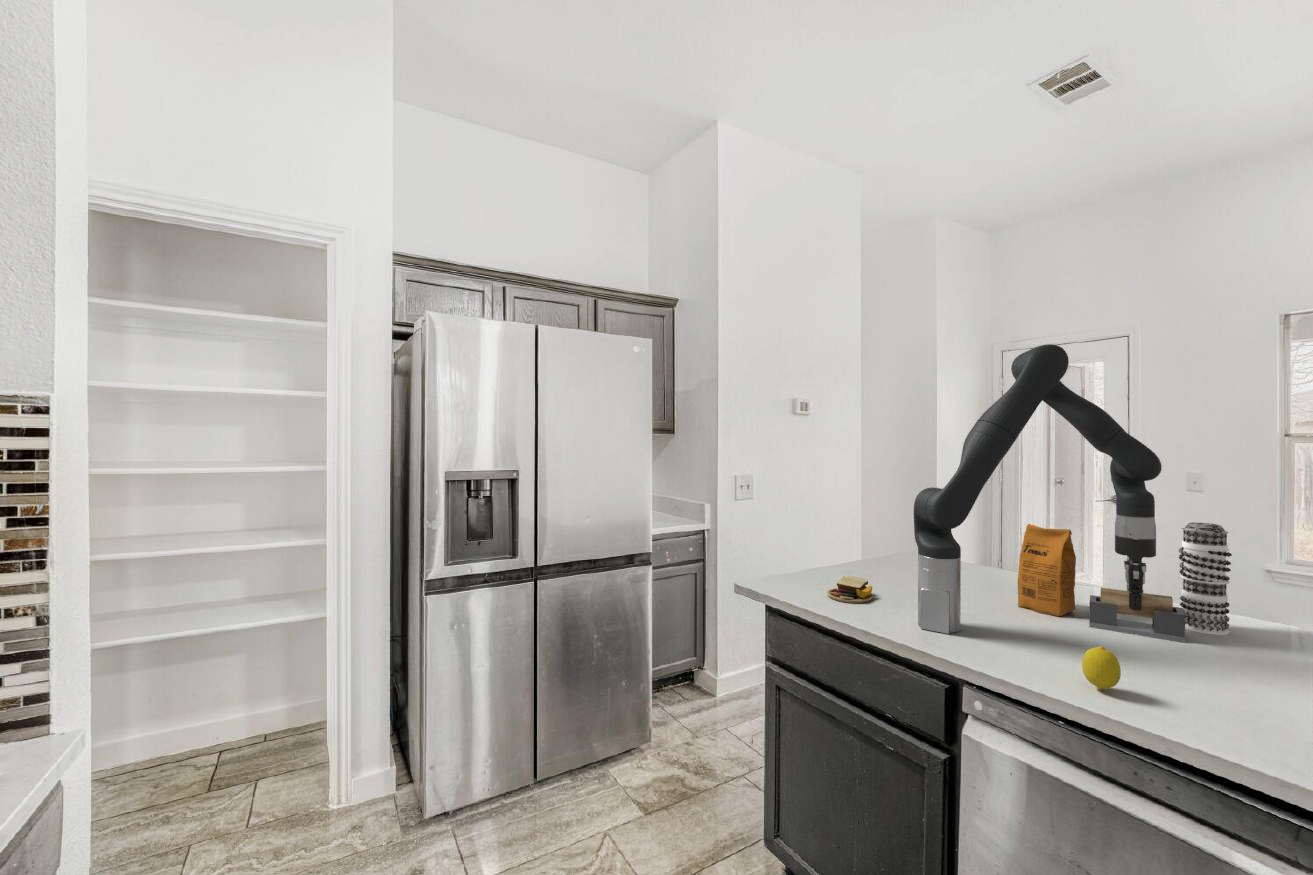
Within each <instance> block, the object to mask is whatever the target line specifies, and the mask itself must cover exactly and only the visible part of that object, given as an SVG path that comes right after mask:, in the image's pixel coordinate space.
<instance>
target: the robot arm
mask: <svg viewBox="0 0 1313 875" xmlns="http://www.w3.org/2000/svg"><path fill="white" fill-rule="evenodd" d="M1069 363H1070V362H1069V356H1068V353H1067V352H1066V351H1065V349H1064V348H1063V347H1062V346H1060V345H1057V344H1050V343H1049V344H1041V345H1038V346H1036V347H1033V348H1031V349H1029V350H1027V351H1024V352H1021V354H1018V355H1017V356H1016V357H1015V358H1014V359H1013V361H1012V363H1011V369H1010V370H1011V373H1012V376H1013V378H1014V379H1015V380H1014V382H1013V384H1012V386H1010V388H1009V389H1007V391H1006V392H1005V393H1004V394H1003V395H1002V396H1000V397H999V398H998V399H997V400H995V402H993V404H991V405H990V406H989V407H988V408H987V409H986V410H985V411H984V412H983V413H982V414H981V416H980V417H979V418H978V419H977V420H976V422H975V423H974V425H973V427H972V428H971V429H970V430H969V432H968V433H967V436H965V439H964V442H963V445H962V450H961V456H960V463H959V464H958V468H957V469H956V471H955V472H954V475H952V477H951V478H950V479H949V481H948V482H947V483H946V484H945V486H944V487H943V488H939V487H927V488H924V489H922V490H921V491H919V493H918V494H917V495H916V497H915V500H914V503H913V530H914V531H913V532H914V541H915V543H916V545H917V624H918V626H919V627H920V629H922V630H926V631H927V630H928V631H933V632H937V633H942V634H951V633H956V632H959V631H961V617H962V616H961V613H962V612H961V606H962V605H961V602H962V601H961V599H962V598H961V597H962V596H961V585H962V584H961V583H962V582H961V577H962V576H961V571H962V561H961V559H962V557H961V556H962V548H961V545H960V544H959V543H958V542H957V540H956V539H955V538H954V536H953V533H952V529H955V528H957V527H959V526H960V525H962V524H963V523H964V522H965V521H966V519H967V518H968V516H969V514H970V513H971V511H972V509H973V507H974V504H975V503H976V501H977V499H978V497H979V496H980V494H981V492H982V490H983V488H984V487H985V485H986V483H987V482H988V481H989V479H990V477H992V475H993V473H994V472H995V470H996V468H997V467H998V466H999V464H1000V463H1001V461H1002V460H1003V458H1005V456H1006V455H1007V453H1008V452H1009V451H1010V449H1011V447H1012V446H1013V445H1014V444H1015V442H1016V441H1017V439H1018V438H1019V435H1020V434H1021V433H1022V432H1023V430H1024V428H1025V427H1026V425H1027V424H1028V422H1029V420H1030V419H1031V418H1032V416H1033V415H1034V413H1035V412H1036V410H1037V409H1038V407H1039V406H1040V404H1041V403H1042V402H1043V403H1045V404H1046V405H1048V406H1049V407H1050V408H1051V409H1053V410H1054V411H1055V412H1057V413H1058V414H1059V415H1060V416H1061V417H1062V418H1064V419H1065V420H1066V421H1067V422H1068V423H1069V424H1070V425H1071V426H1072V427H1074V429H1075V430H1077V431H1078V433H1079V434H1081V436H1082V437H1083V438H1084V439H1086V441H1087V442H1088V443H1089V444H1090V445H1091V446H1093V448H1094V449H1095V450H1097V451H1099V453H1103V454H1105V455H1108V456H1109V457H1111V461H1110V467H1109V472H1110V478H1111V481H1112V485H1113V486H1112V487H1113V489H1114V493H1115V496H1116V502H1115V503H1116V504H1115V510H1116V511H1115V514H1116V515H1115V521H1114V552H1115V553H1116V554H1118V555H1121V556H1127V557H1128V560H1124V561H1123V562H1124V564H1123V567H1124V571H1125V581H1126V583H1127V585H1126V587H1127V591H1129V608H1130V609H1133V610H1141V595H1142V594H1143V593H1144V585H1145V584H1146V572H1147V563H1146V562H1143V561H1142V560H1143V558H1146V559H1148V558H1149V559H1151V558H1154V557H1156V556H1157V524H1156V518H1155V516H1156V510H1155V508H1156V504H1155V502H1156V501H1155V496H1154V494H1152V492H1150V491H1149V490H1147V488H1146V482H1147V481H1152V480H1154V479H1156V478H1158V476H1160V474H1161V473H1162V462H1161V460H1160V458H1159V457H1158V455H1157V454H1156V453H1155V452H1154V451H1153V450H1152V449H1150V448H1149V447H1148V446H1147V445H1145V444H1144V443H1142V442H1141V441H1139V440H1138V439H1136V438H1135V437H1134V436H1132V435H1130V434H1129V433H1128V432H1127V431H1126V430H1125V429H1124V428H1123V427H1122V426H1121V425H1120V424H1119V423H1118V422H1117V421H1116V420H1115V418H1113V417H1112V416H1111V415H1110V414H1109V413H1108V412H1107V411H1105V410H1104V409H1102V408H1101V407H1100V406H1099V405H1097V404H1095V403H1093V402H1091V401H1090V400H1087V398H1085V397H1082V396H1080V395H1079V394H1077V393H1075V392H1074V391H1073V390H1071V388H1068V386H1066V385H1065V384H1064V383H1063V382H1062V381H1061V380H1062V378H1063V377H1064V376H1065V375H1066V373H1067V371H1068V368H1069Z"/></svg>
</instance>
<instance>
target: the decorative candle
mask: <svg viewBox="0 0 1313 875" xmlns="http://www.w3.org/2000/svg"><path fill="white" fill-rule="evenodd" d="M1181 530H1182V532H1183V533H1182V539H1183V540H1181V547H1180V548H1178V552H1179V555H1178V559H1179V560H1180V561H1182V562H1180V563H1179V567H1180V568H1181V569H1179V572H1178V573H1179V574H1180V576H1179V577H1180V578H1181V579H1182V588H1181V596H1180V597H1179V600H1181V601H1182V602H1180V603H1179V607H1181V608H1182V609H1183V611H1184V614H1185V630H1188V631H1191V632H1195V633H1199V634H1206V635H1214V636H1227V635H1228V634H1230V631H1229V630H1228V629H1229V628H1230V624H1229V622H1230V617H1229V616H1228V615H1227V614H1229V613H1230V610H1229V609H1228V607H1230V603H1229V602H1228V601H1229V600H1228V598H1229V597H1228V594H1227V585H1229V584H1230V580H1231V578H1230V577H1229V576H1228V575H1227V573H1229V572H1231V571H1232V570H1231V568H1229V567H1228V566H1231V564H1232V562H1231V561H1229V560H1228V559H1227V558H1230V557H1231V556H1232V555H1233V554H1232V553H1230V552H1229V551H1230V549H1229V545H1228V543H1227V541H1228V534H1229V533H1230V532H1229V531H1227V530H1225V528H1224V527H1223V526H1222V525H1221V524H1218V523H1210V522H1188V523H1187V524H1186V525H1185V527H1182V528H1181Z"/></svg>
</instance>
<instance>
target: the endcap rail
mask: <svg viewBox="0 0 1313 875" xmlns="http://www.w3.org/2000/svg"><path fill="white" fill-rule="evenodd" d="M1088 615H1089V624H1088V625H1089V627H1088V628H1093V627H1096V628H1095V629H1099V628H1100V630H1105V629H1106V631H1111V630H1112V632H1117V631H1118V632H1117V633H1123V632H1127V633H1126V634H1129V633H1132V634H1131V635H1135V634H1137V636H1141V635H1142V637H1147V636H1148V638H1154V639H1160V640H1165V639H1166V641H1171V642H1179V643H1183V644H1185V643H1186V629H1185V614H1184V611H1183V607H1180V606H1179V607H1178V606H1173V612H1168V611H1161V610H1154V619H1152V618H1151V620H1152V621H1151V623H1150V622H1149V623H1147V622H1143V621H1142V622H1141V621H1134V620H1127V619H1122V618H1118V613H1117V604H1112V603H1105V602H1101V595H1094V594H1093V595H1091V594H1090V596H1089V614H1088Z"/></svg>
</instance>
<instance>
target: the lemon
mask: <svg viewBox="0 0 1313 875" xmlns="http://www.w3.org/2000/svg"><path fill="white" fill-rule="evenodd" d="M1081 669H1082V673H1083V675H1084V677H1085V679H1086V680H1087V681H1088V682H1089V683H1090V684H1091V685H1093V686H1095V687H1096V688H1097V689H1098V690H1099V691H1105V690H1106V689H1110V688H1113V687H1116V685H1117V684H1118V683H1119V681H1120V679H1121V676H1122V675H1121V673H1122V670H1121V665H1120V662H1119V660H1118V657H1117V656H1116V655H1115V654H1114V653H1113V652H1111V650H1108V649H1106V648H1105V647H1104V646H1102V645H1099V646H1097V647H1091V648H1090V649H1087V651H1086V652H1084V655H1083V658H1082V662H1081Z"/></svg>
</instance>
